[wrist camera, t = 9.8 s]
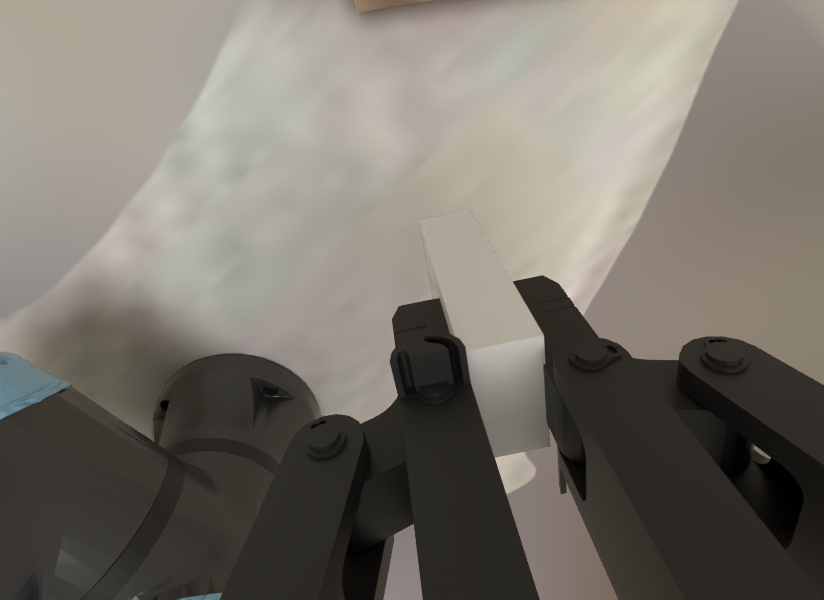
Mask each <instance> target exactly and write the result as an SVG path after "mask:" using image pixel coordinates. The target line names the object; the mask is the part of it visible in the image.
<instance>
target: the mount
mask: <svg viewBox="0 0 824 600" xmlns="http://www.w3.org/2000/svg"><path fill="white" fill-rule="evenodd" d="M426 1H432V0H354V5H355V11H356V13H359V12H365V11H371V10H377V9H384V8H390V7H396V6H402V5H408V4H414V3H420V2H426Z"/></svg>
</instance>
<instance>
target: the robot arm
mask: <svg viewBox="0 0 824 600" xmlns="http://www.w3.org/2000/svg"><path fill="white" fill-rule="evenodd" d="M419 223H420V229H421V234H422V240H423V245H424V251H425V256H426V262H427V267H428V273H429V279H430V284H431V290H432V295H433V299H432V300H427V301H422V302H417V303H412V304H407V305H402V306H399V307H398V309H397V311H396V313H395V315H394V316H393V318H392V323H393V331H394V339H395V347H396V348H395V349H394V350H393V352H392V354H391V358H390V364H391V368H392V372H393V376H394V381H395V385H396V389H397V393H398V396H397V399H396V400H395V401H394V403H393V404H392V405H391V406H390V407H389V408H388V409H387V410H385V411H384V412H383V413H381V414H380V415H378V416H376V417H374V418H372V419H370V420H368V421H366V422H364V423H362V424H360V423H359V421H357V420H355V419H353V418H352V417H350V416H346V415H338V414H335V415H329V416H323V417H320V418H319V409H318V405H317V402H316V400H315V398H314V396H313V394H312V393H311V391H310V390H309V388H308V387H307V386H306V385H305V384H304V383H303V381H302V380H300V379H299V378H298V377H297V376H296V375H294V374H293V373H292V372H290V371H289V370H287V369H285V368H284V367H282V366H280V365H278V364H275V363H273V362H270V361H268V360H265V359H261V358H257V357H253V356H246V355H217V356H211V357H207V358H203V359H200V360H197V361H195V362H193V363H191V364H189V365H187V366H185V367H184V368H182V369H181V370H179V371H178V372H177V373H176V374H175V375H174V376H173V377H172V378H171V379H170V380H169V382H168V383H167V385H166V386H165V388H164V390H163V392H162V394H161V396H160V398H159V400H158V402H157V404H156V407H155V410H154V414H153V427H152V440H150V439H149V438H147V437H146V436H144V435H143V434H141V433H140V432H138V431H137V430H135V429H134V428H132V427H131V426H129V425H128V424H126V423H125V422H123V421H122V420H120V419H118V418H117V417H115V416H114V415H112V414H111V413H109V412H108V411H106V410H105V409H103V408H102V407H100V406H99V405H97V404H96V403H95V402H93V401H92V400H90V399H89V398H87V397H86V396H84V395H83V394H81V393H80V392H79V391H77V390H76V389H74V388H73V387H71V385H72V384H71V383H70V382H69V381H67V380H60V379H58V378H57V377H55V376H53V375H51V374H50V373H48V372H46V371H44V370H43V369H41V368H39V367H37V366H36V365H34V364H32V363H30V362H29V361H27V360H26V359H24V358H22V357H20V356H18V355H16V354H12V353H8V352H0V600H383V598H384V593H385V587H386V582H387V576H388V571H389V565H390V559H391V553H392V548H393V543H394V534H396V533H397V532H399V531H401V530H403V529H405V528H407V527H408V526H410V525H412V524H414V529H415V537H416V546H417V554H418V562H419V571H420V579H421V587H422V595H423V600H540V599H539V596H538V593H537V590H536V587H535V584H534V580H533V577H532V574H531V571H530V568H529V565H528V562H527V559H526V555H525V552H524V550H523V546H522V543H521V539H520V536H519V533H518V530H517V527H516V524H515V521H514V518H513V515H512V511H511V508H510V505H509V502H508V499H507V495H506V492H505V489H504V486H503V483H502V480H501V476H500V473H499V470H498V467H497V464H496V461H495V457H500V456H505V455H509V454H514V453H519V452H524V451H529V450H534V449H539V448H544V447H549V446H550V432H549V428H550V430H551V432H552V434H553V437H554V439H555V441H556V443H557V448H558V449H557V451H558V471H559V486H560V492H561V494H563V493H566V483H567V485H568V487H569V489H570V492H571V494H572V496H573V498H574V501H575V503H576V505H577V507H578V510H579V512H580V514H581V516H582V519H583V521H584V523H585V525H586V527H587V530H588V532H589V534H590V536H591V539H592V541H593V543H594V546H595V548H596V550H597V552H598V555H599V557H600V559H601V561H602V564H603V566H604V568H605V570H606V573H607V575H608V577H609V579H610V582H611V584H612V586H613V588H614V590H615V593H616V595H617V597H618V600H824V385H822V384H821V383H819V382H817V381H815V380H814V379H812V378H810V377H808V376H807V375H804V374H803V373H801V372H799V371H798V370H796V369H794V368H792V367H791V366H789V365H787V364H785V363H784V362H782V361H780V360H778V359H776V358H775V357H773V356H771V355H770V354H768V353H766V352H764V351H763V350H761V349H759V348H757V347H756V346H753V345H751V344H748V343H746V342H744V341H741V340H737V339H732V338H727V337H703V338H699V339H694V340H692V341H690V342H689V343H687V344H686V345H684V346H683V348H682V350H681V352H680V354H679V360H644V359H635V358H632V357H631V355H630V354H629V353H628V352H627V351H626V350H625V349H624V348H623V347H622V346H620V345H619V344H617V343H615V342H612V341H610V340H607V339H603V338H599V337H598V336H597V334H596V333H595V332H594V330H593V329H592V328H591V326H590V325H589V324H588V322H587V321H586V320H585V319H584V317H583V316H582V314H581V313H580V312H579V310H578V309H577V308H576V307H575V306H574V304H573V302H572V301H571V300H570V298H569V297H567V294H566V293H565V292H564V290H563V289H562V288H561V286H560V285H559V284H558V283H556V282H554V281H553V280H551V279H549V278H547V277H545V276H543V275H542V276H537V277H532V278H527V279H523V280H518V281H512V280H511V278H510V276H509V275H508V273H507V271H506V269H505V268H504V266H503V264H502V263H501V261H500V259H499V257H498V256H497V254H496V252H495V251H494V249H493V247H492V245H491V244H490V242H489V240H488V239H487V237H486V235H485V233H484V232H483V230H482V228H481V227H480V225H479V223H478V221H477V220H476V218H475V216H474V215H473V213H472V211H471V209H469V210H464V211H459V212H454V213H449V214H444V215H440V216H435V217H430V218H425V219H420V220H419ZM754 445H755V446H757V447H758V448H759V449H761V450H762V451H763V452H765V453H766V454H767V455H769V456H770V457H771V459H768V458H766V457H764V456H762V455H760V454H759V453H758V452H756V451H755V450H754Z"/></svg>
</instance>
